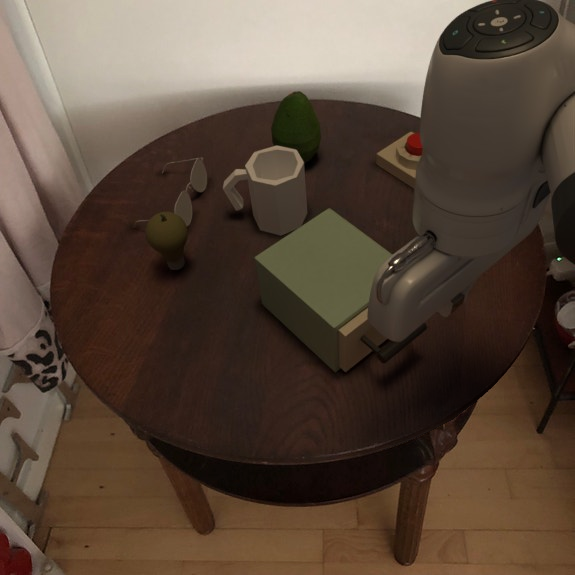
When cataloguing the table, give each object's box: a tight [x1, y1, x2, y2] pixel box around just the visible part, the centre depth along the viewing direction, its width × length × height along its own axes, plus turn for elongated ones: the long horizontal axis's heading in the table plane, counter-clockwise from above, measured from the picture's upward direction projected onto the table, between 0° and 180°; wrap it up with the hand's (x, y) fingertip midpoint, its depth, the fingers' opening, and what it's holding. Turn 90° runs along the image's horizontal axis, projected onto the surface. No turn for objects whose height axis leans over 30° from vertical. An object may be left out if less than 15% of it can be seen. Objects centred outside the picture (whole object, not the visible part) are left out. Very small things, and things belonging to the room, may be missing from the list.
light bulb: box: [145, 211, 189, 271], centre depth 86 cm, size 6×6×10 cm
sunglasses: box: [133, 157, 208, 229], centre depth 97 cm, size 14×8×5 cm, turn 167°
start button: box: [406, 132, 423, 156], centre depth 96 cm, size 4×4×2 cm
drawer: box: [338, 307, 428, 373], centre depth 77 cm, size 18×11×8 cm, turn 40°
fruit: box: [270, 90, 322, 164], centre depth 98 cm, size 8×8×12 cm
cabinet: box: [253, 207, 393, 373], centre depth 79 cm, size 15×13×10 cm
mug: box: [222, 145, 308, 237], centre depth 91 cm, size 12×9×10 cm
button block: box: [375, 131, 421, 190], centre depth 98 cm, size 10×8×4 cm
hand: (449, 305), depth 62 cm, fingers closed
